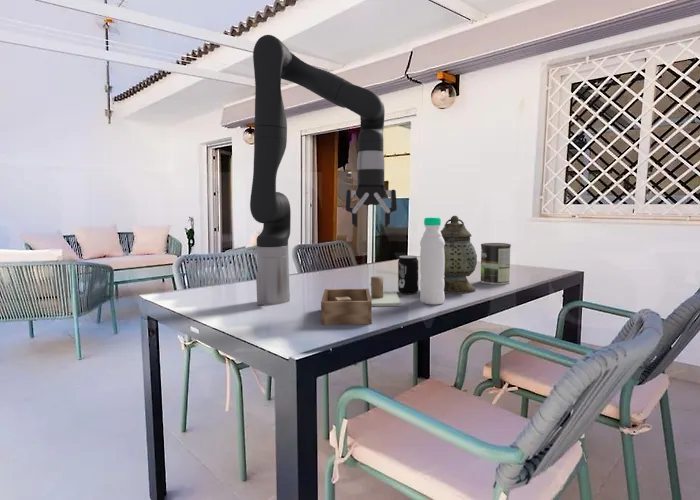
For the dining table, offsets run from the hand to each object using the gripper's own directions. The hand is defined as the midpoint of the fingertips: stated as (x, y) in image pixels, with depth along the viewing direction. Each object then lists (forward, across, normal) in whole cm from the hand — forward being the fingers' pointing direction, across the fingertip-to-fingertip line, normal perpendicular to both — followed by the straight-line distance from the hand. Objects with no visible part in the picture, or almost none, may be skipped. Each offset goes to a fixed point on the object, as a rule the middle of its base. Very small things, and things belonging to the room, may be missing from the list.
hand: (370, 226), depth 120 cm
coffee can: (+23, +48, +32) cm, 62 cm away
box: (+23, -7, -13) cm, 27 cm away
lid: (+22, +2, +4) cm, 23 cm away
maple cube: (+22, -8, -9) cm, 25 cm away
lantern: (+23, +30, +20) cm, 42 cm away
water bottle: (+23, +18, +2) cm, 29 cm away
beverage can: (+23, +14, +17) cm, 32 cm away
